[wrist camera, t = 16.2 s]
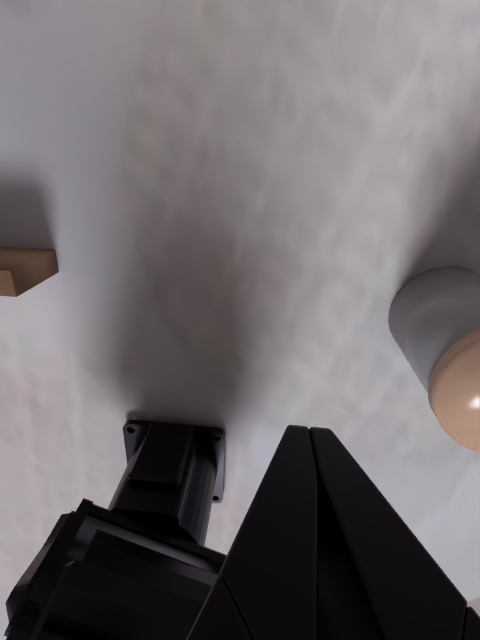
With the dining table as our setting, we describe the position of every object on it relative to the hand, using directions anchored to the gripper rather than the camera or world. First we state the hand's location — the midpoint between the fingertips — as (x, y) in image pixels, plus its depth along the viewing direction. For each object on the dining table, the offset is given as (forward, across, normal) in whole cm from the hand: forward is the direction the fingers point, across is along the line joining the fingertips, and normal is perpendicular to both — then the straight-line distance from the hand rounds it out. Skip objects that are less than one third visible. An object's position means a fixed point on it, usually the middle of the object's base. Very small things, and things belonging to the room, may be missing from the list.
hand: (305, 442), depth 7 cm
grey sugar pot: (+12, -8, +2) cm, 15 cm away
